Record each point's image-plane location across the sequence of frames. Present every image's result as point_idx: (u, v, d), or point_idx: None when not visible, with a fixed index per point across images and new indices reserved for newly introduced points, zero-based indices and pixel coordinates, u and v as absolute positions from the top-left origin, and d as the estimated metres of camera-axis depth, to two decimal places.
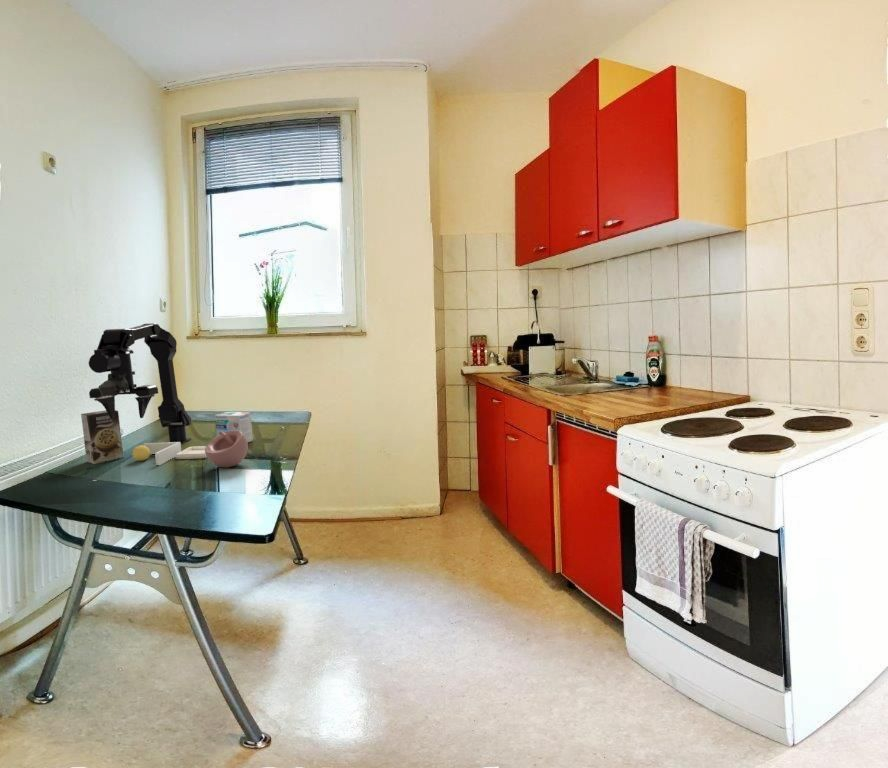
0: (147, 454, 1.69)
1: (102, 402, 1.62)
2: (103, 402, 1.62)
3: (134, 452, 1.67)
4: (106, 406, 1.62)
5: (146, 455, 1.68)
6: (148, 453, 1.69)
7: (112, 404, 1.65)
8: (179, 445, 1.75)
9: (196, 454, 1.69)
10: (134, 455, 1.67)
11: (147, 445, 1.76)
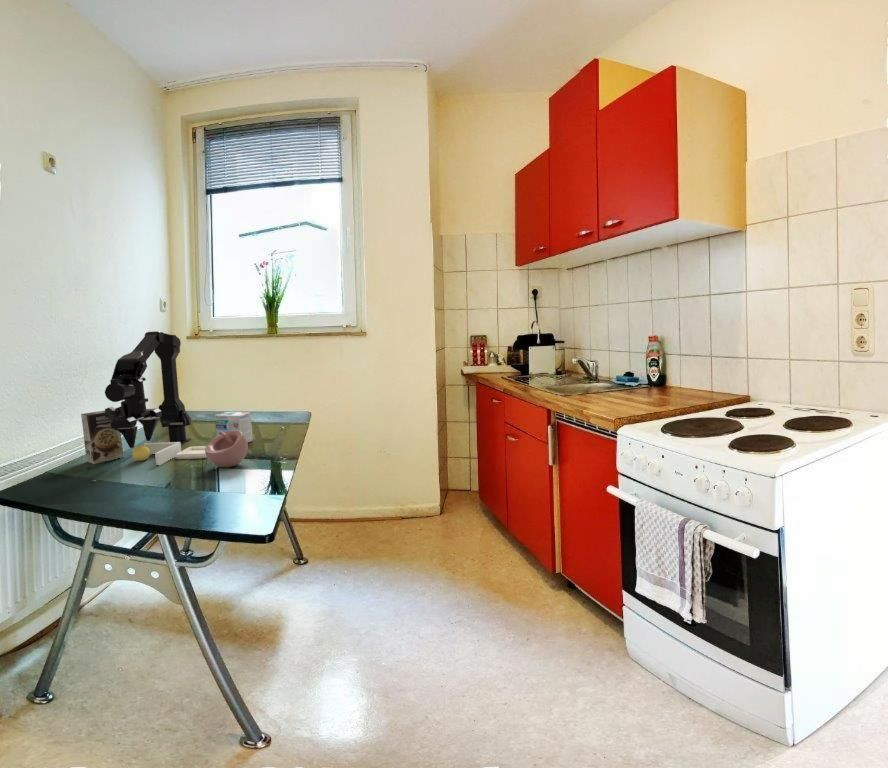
0: (147, 454, 1.69)
1: None
2: None
3: (134, 452, 1.67)
4: None
5: (146, 455, 1.68)
6: (148, 453, 1.69)
7: (150, 427, 1.73)
8: (179, 445, 1.75)
9: (196, 454, 1.69)
10: (134, 455, 1.67)
11: (147, 445, 1.76)
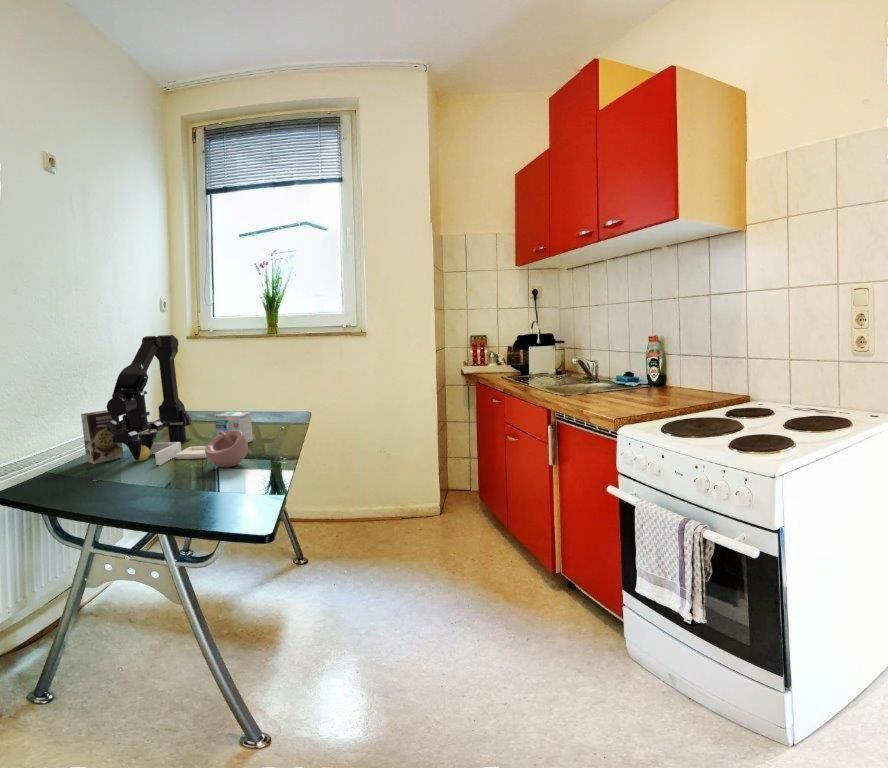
0: (147, 454, 1.69)
1: None
2: None
3: None
4: None
5: (146, 455, 1.68)
6: (148, 453, 1.69)
7: (148, 441, 1.72)
8: (179, 445, 1.75)
9: (196, 454, 1.69)
10: None
11: None
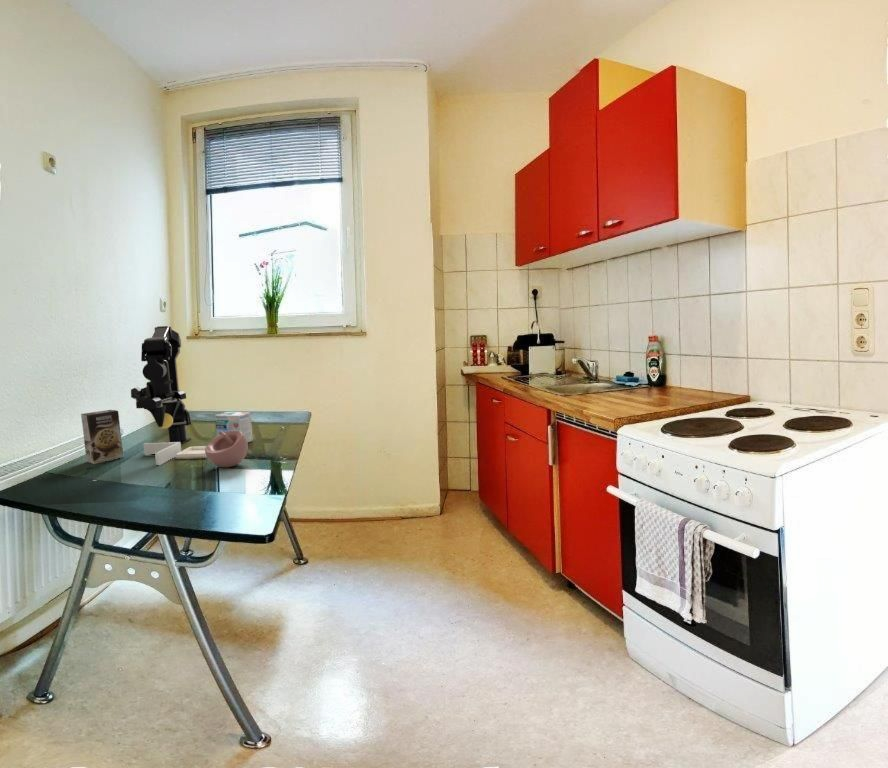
0: (170, 422, 1.69)
1: None
2: None
3: None
4: None
5: (169, 423, 1.69)
6: (171, 421, 1.70)
7: (171, 409, 1.72)
8: (179, 445, 1.75)
9: (196, 454, 1.69)
10: None
11: (147, 445, 1.76)
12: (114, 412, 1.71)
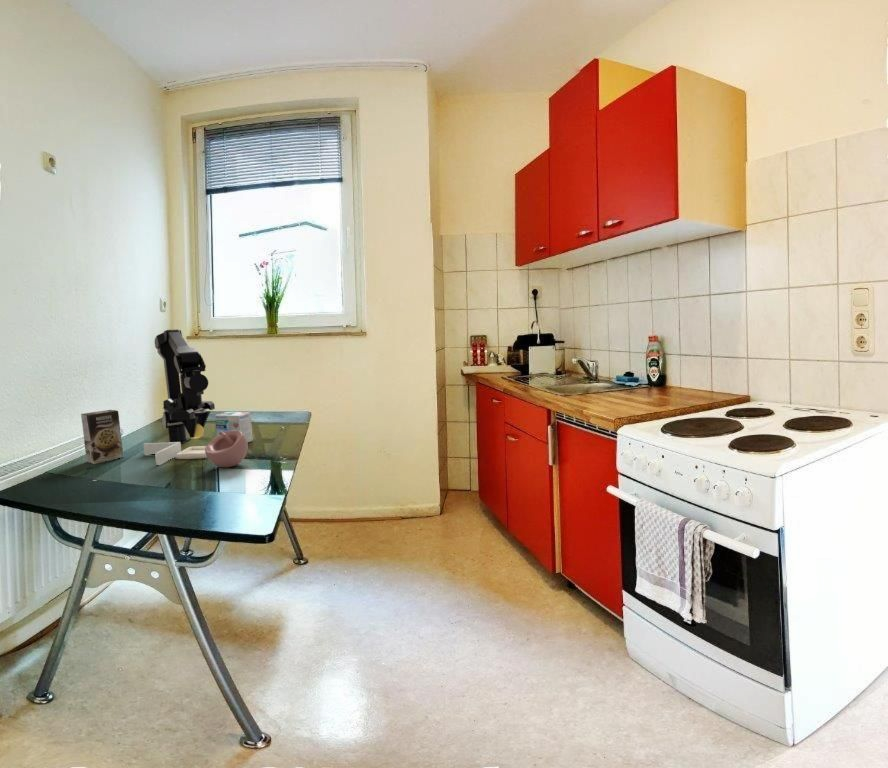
0: (201, 432, 1.73)
1: None
2: None
3: None
4: None
5: (201, 433, 1.72)
6: (202, 431, 1.73)
7: (201, 420, 1.76)
8: (179, 445, 1.75)
9: (196, 454, 1.69)
10: None
11: (147, 445, 1.76)
12: (114, 412, 1.71)
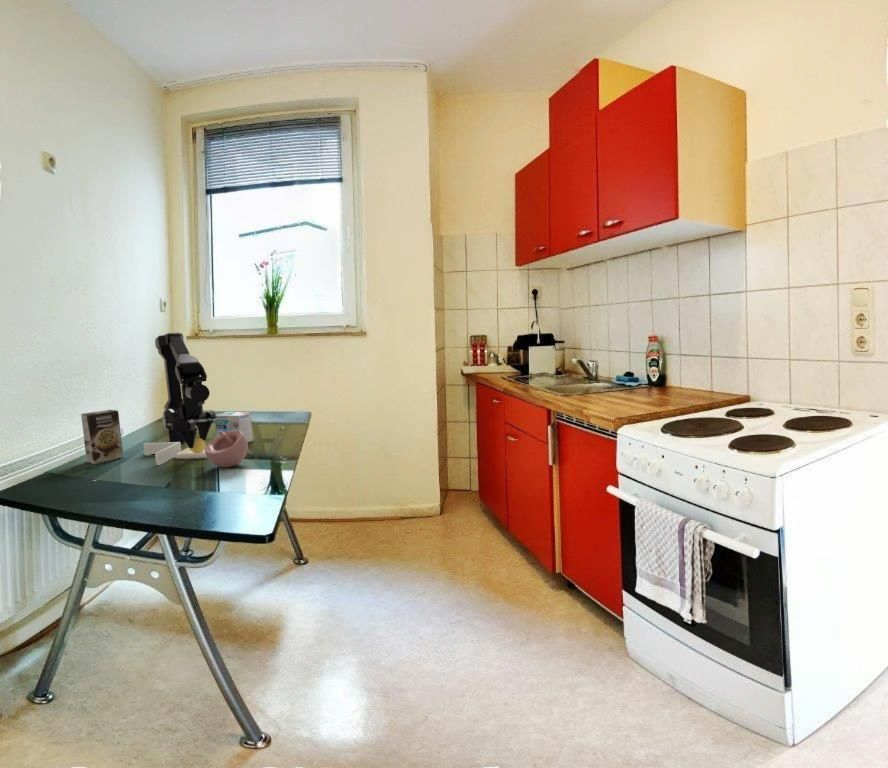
0: (203, 446, 1.73)
1: None
2: None
3: None
4: None
5: (202, 447, 1.73)
6: (204, 445, 1.74)
7: (204, 428, 1.77)
8: (179, 445, 1.75)
9: (196, 454, 1.69)
10: None
11: (147, 445, 1.76)
12: (114, 412, 1.71)
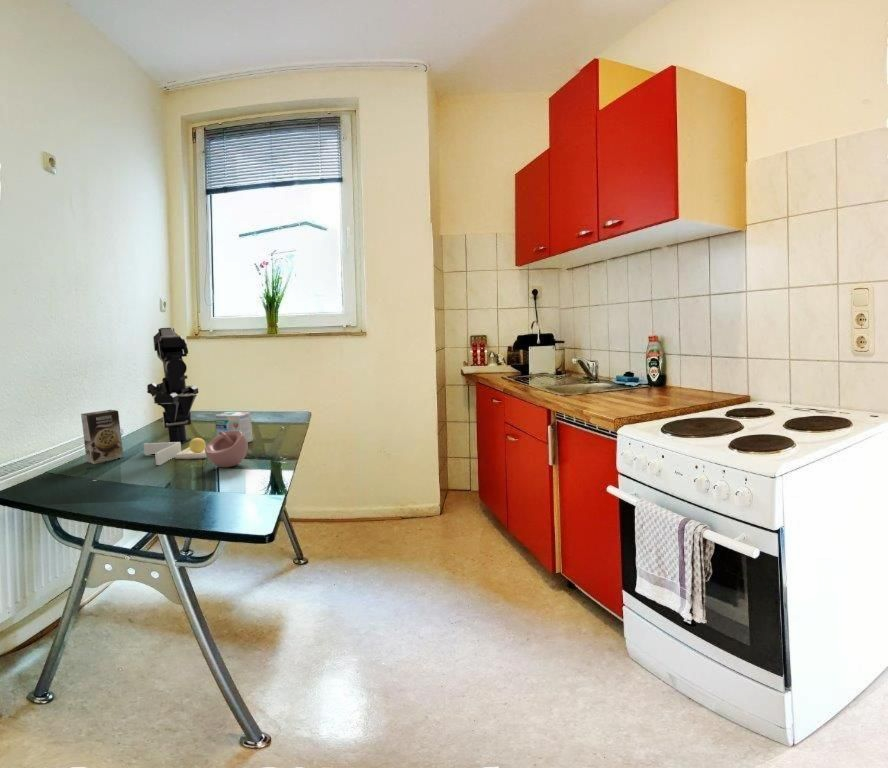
0: (203, 446, 1.73)
1: None
2: None
3: (191, 444, 1.72)
4: None
5: (202, 447, 1.73)
6: (204, 445, 1.74)
7: (188, 403, 1.81)
8: (179, 445, 1.75)
9: (196, 454, 1.69)
10: (191, 447, 1.72)
11: (147, 445, 1.76)
12: (114, 412, 1.71)
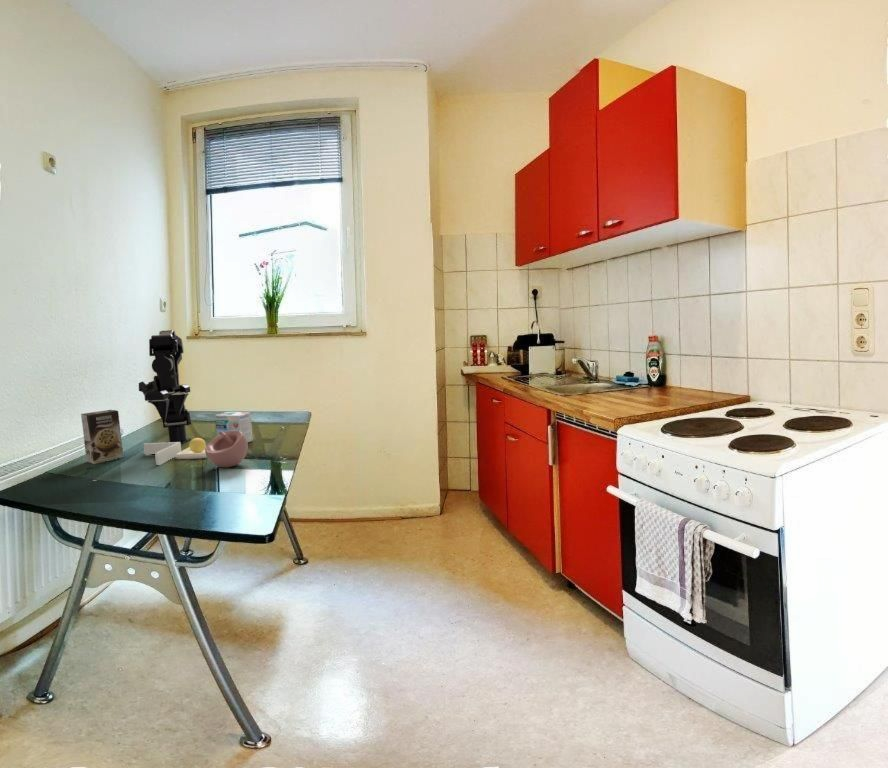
0: (203, 446, 1.73)
1: None
2: None
3: (191, 444, 1.72)
4: None
5: (202, 447, 1.73)
6: (204, 445, 1.74)
7: (179, 401, 1.83)
8: (179, 445, 1.75)
9: (196, 454, 1.69)
10: (191, 447, 1.72)
11: (147, 445, 1.76)
12: (114, 412, 1.71)
